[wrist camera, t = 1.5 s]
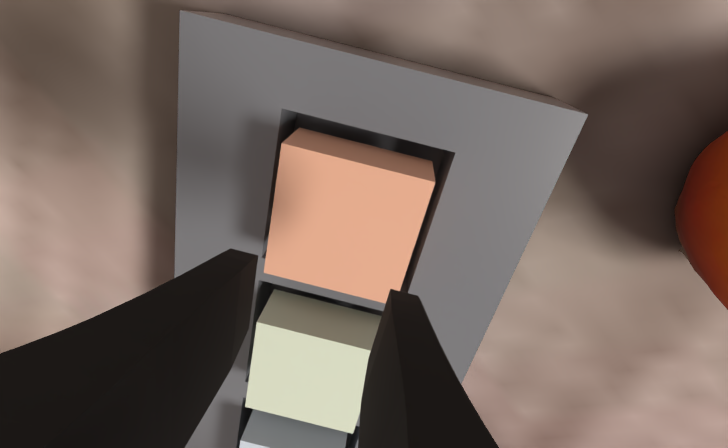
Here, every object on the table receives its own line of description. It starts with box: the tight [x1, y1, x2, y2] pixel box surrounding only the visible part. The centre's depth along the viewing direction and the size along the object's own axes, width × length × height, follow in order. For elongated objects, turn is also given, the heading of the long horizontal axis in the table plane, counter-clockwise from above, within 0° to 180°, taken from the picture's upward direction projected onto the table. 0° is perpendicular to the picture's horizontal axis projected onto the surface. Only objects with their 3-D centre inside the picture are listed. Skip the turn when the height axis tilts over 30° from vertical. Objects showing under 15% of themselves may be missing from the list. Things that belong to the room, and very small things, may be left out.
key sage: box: [245, 289, 382, 434], centre depth 16 cm, size 4×4×2 cm
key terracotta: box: [264, 127, 435, 304], centre depth 13 cm, size 4×4×2 cm
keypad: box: [174, 10, 588, 448], centre depth 19 cm, size 12×29×3 cm, turn 167°
